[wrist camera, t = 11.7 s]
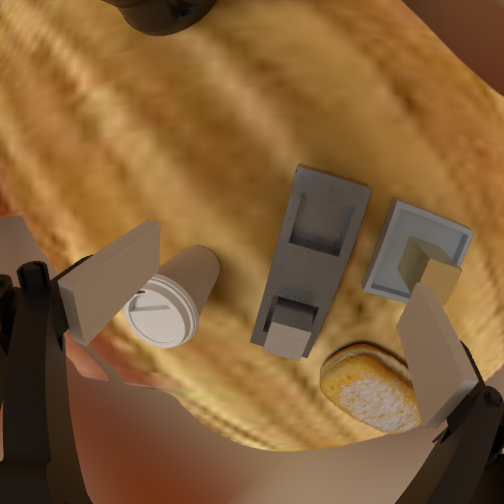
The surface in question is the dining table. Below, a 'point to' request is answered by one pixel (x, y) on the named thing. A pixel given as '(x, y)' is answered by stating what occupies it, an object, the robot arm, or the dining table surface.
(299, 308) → the grey rectangular block
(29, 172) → the dining table surface
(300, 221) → the grey slotted holder
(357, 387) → the bread
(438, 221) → the parts tray
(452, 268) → the tan rectangular block
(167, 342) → the coffee cup
